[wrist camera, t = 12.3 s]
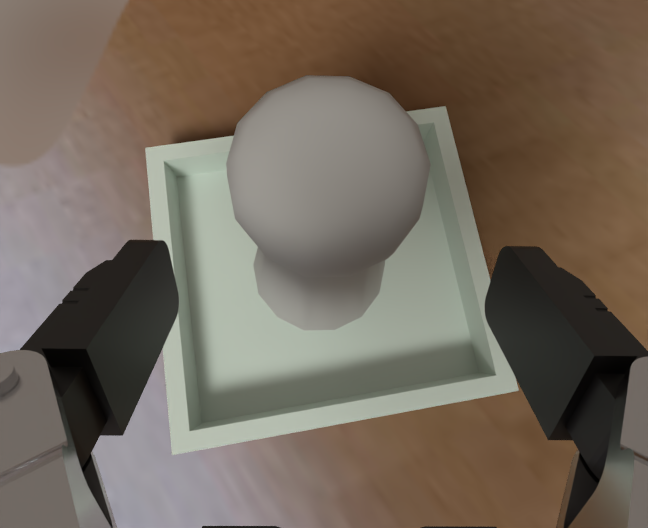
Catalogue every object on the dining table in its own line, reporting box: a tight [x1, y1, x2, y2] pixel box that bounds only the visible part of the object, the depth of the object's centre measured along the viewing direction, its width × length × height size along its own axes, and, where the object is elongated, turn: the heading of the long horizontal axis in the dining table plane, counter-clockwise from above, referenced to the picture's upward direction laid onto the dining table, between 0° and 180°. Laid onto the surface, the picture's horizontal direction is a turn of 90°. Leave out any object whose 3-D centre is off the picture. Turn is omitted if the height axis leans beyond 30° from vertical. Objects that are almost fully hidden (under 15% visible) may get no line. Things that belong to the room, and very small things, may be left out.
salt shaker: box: [226, 76, 431, 330], centre depth 14 cm, size 6×6×13 cm
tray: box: [145, 106, 519, 455], centre depth 20 cm, size 15×14×2 cm
